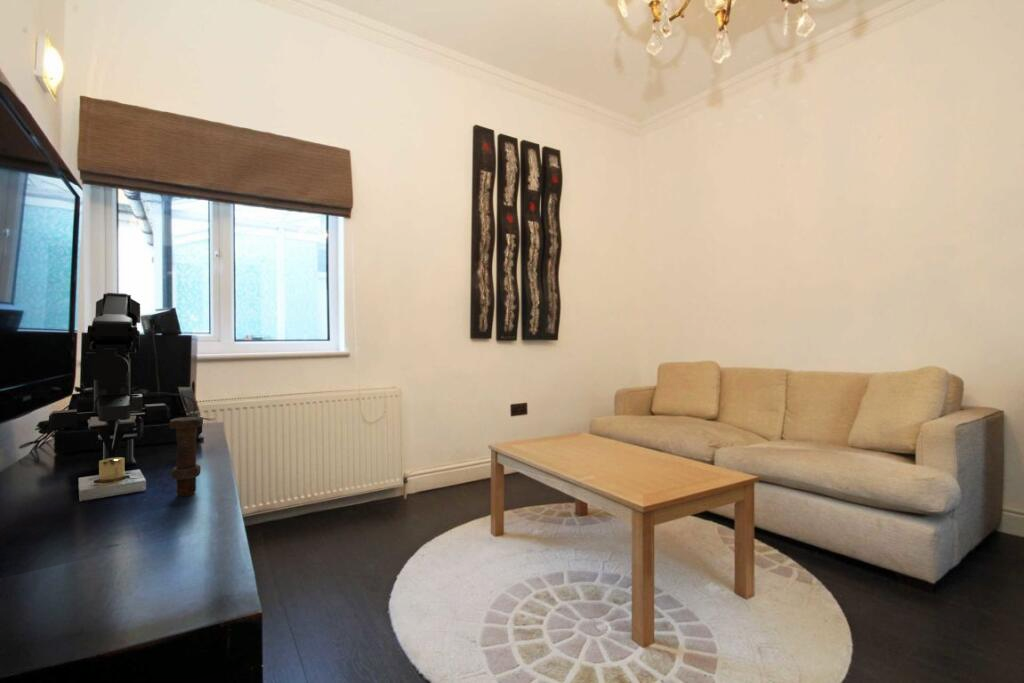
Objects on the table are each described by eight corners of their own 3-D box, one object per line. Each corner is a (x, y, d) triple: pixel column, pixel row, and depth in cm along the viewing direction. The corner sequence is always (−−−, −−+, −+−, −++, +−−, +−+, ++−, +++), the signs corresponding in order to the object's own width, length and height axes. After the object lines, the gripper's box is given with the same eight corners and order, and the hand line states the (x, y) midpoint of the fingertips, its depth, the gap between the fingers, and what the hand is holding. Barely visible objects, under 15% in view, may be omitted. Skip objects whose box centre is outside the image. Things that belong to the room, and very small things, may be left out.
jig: (78, 487, 99) (78, 477, 99) (139, 478, 106) (139, 469, 106) (79, 501, 90) (79, 490, 90) (145, 490, 97) (146, 480, 97)
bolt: (209, 491, 96) (209, 416, 96) (190, 499, 91) (190, 420, 91) (182, 490, 97) (183, 416, 97) (162, 498, 92) (162, 420, 92)
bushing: (98, 488, 98) (98, 459, 98) (123, 485, 101) (123, 456, 101) (99, 493, 95) (99, 463, 95) (125, 489, 98) (125, 459, 98)
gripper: (48, 386, 86) (47, 473, 86) (173, 380, 99) (173, 456, 98) (49, 382, 94) (49, 461, 94) (165, 378, 107) (165, 447, 107)
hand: (112, 456), depth 98 cm, fingers closed
